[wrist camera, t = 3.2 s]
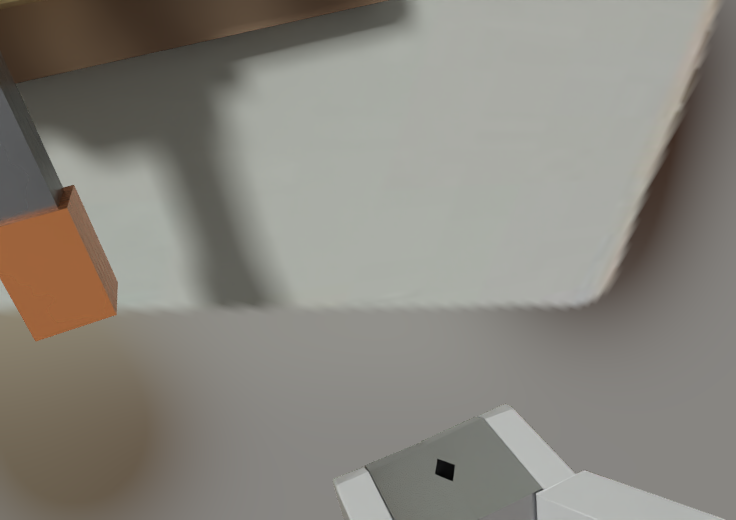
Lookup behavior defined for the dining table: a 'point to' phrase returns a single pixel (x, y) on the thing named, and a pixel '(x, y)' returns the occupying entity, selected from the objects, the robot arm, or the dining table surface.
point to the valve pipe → (15, 3)
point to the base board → (133, 28)
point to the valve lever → (45, 232)
